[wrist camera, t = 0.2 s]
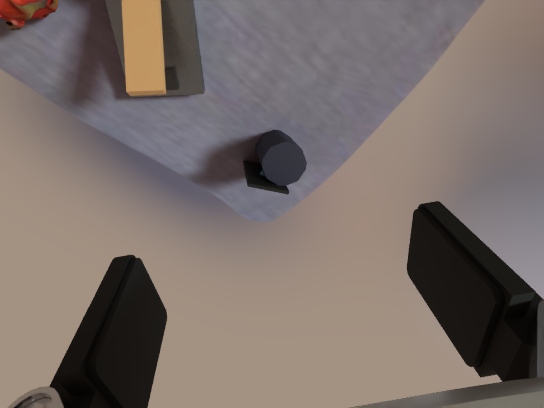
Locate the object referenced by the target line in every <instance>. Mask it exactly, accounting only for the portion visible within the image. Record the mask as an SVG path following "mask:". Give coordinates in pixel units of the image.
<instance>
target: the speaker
mask: <svg viewBox="0 0 544 408" xmlns="http://www.w3.org/2000/svg"><path fill="white" fill-rule="evenodd" d="M256 153H257V155H258V158H259V160H260V163H261V164H258V163H254V162H249V161H245V160H244V161H243V164H244V170H245V175H246V180H247V185H248V186H249V187H254V188H259V189H264V190H269V191H274V192H279V193H284V194H289V190H288V188H287V186H286V185H288V184H291V183H293V182H296V181H298V180H299V178H300V177H301V175H302V174H303V173H304V171H305V170H306V164H307V162H306V159H305V156H304V154H303V151H302V149H301V148H300V147H299V146H298V145H297V144H296V143H295V142H294V141H293V140H292V139H291V138H290V137H289V136H288V135H286V134H284V133H283V132H281V131H279V130H273V131H270V132H268V133H265V134H263V135H262V136H261V138H260V140H259V141H258V143H257V144H256Z"/></svg>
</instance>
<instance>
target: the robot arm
mask: <svg viewBox="0 0 544 408" xmlns="http://www.w3.org/2000/svg"><path fill="white" fill-rule="evenodd" d="M407 272H408V275H409V277H410V279H411V280H412V282H413V283H414V285H415V286H416V288H417V290H418V291H419V293H420V294H421V295H422V297H423V299H424V300H425V302H426V303H427V305H428V306H429V308H430V310H431V311H432V312H433V314H434V316H435V317H436V319H437V320H438V322H439V323H440V325H441V326H442V328H443V329H444V331H445V333H446V334H447V336H448V337H449V339H450V340H451V342H452V343H453V345H454V346H455V348H456V349H457V351H458V352H459V354H460V355H461V357H462V359H463V360H464V362H465V363H466V364H467V365H468V366H470V367H474V369H475V370H476V372H477V373H478V375H479V376H480V377H485V376H491V375H496V374H497V375H498V376H499V377H500V379H501V380H502V382H499V383H493V384H487V385H479V386H473V387H467V388H460V389H454V390H448V391H442V392H436V393H431V394H426V395H419V396H414V397H409V398H402V399H396V400H391V401H385V402H379V403H373V404H368V405H362V406H356V407H351V408H544V299H542V298H541V297H540V296H539V295H538V294H537V293H536V291H534V290H533V289H532V288H531V287H530V286H529V285H528V284H527V283H526V282H525V281H524V280H523V279H522V278H520V276H518V275H517V274H516V273H515V272H514V271H513V270H512V269H511V268H510V267H509V266H508V265H507V264H506V263H505V262H503V261H502V260H501V259H500V258H499V257H498V256H497V255H496V254H495V253H494V252H493V251H492V250H491V249H490V248H489V247H487V246H486V245H485V244H484V243H483V242H482V241H481V240H480V239H479V238H478V237H477V236H476V235H475V234H473V233H472V232H471V231H470V230H469V229H468V228H467V227H466V226H465V225H464V224H463V223H462V222H461V221H460V220H459V219H458V218H456V217H455V216H454V215H453V214H452V213H451V212H450V211H449V210H448V209H447V208H446V207H445V206H444V205H443V204H441V203H440V202H438V201H436V202H431V203H425V204H420V205H419V207H418V209H416V210H415V211H414V213H413V221H412V229H411V238H410V245H409V253H408V262H407ZM166 321H167V312H166V309H165V307H164V305H163V303H162V301H161V299H160V297H159V295H158V293H157V291H156V289H155V287H154V284H153V283H152V281H151V279H150V276H149V274H148V273H147V270H146V268H145V266H144V264H143V262H142V261H141V259H140V258H136V257H135V256H134V255H127V256H121V257H116V258H114V259H113V260H112V262H111V264H110V266H109V268H108V270H107V272H106V274H105V276H104V278H103V280H102V282H101V284H100V286H99V288H98V290H97V292H96V294H95V297H94V298H93V300H92V302H91V304H90V306H89V308H88V310H87V312H86V314H85V316H84V318H83V320H82V322H81V324H80V326H79V328H78V330H77V332H76V334H75V336H74V338H73V340H72V342H71V344H70V346H69V348H68V350H67V352H66V354H65V356H64V358H63V360H62V362H61V364H60V366H59V368H58V370H57V372H56V374H55V376H54V378H53V380H52V382H51V384H50V386H49V387H40V388H36V389H34V390H31V391H29V392H27V393H26V394H24V395H22V396H21V397H19V398H18V399H17V400H16V401H14V402H13V403H12V404H11V405H10V406H9V407H8V408H147V407H148V402H149V398H150V393H151V389H152V384H153V380H154V375H155V371H156V366H157V362H158V357H159V353H160V348H161V344H162V340H163V335H164V331H165V326H166Z"/></svg>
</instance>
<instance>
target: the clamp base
mask: <svg viewBox="0 0 544 408" xmlns="http://www.w3.org/2000/svg"><path fill="white" fill-rule="evenodd" d="M105 3H106V6H107V10H108V14H109V18H110V22H111V26H112V30H113V34H114V38H115V41H116V45H117V49H118V53H119V57H120V61H121V65H122V69H123V73H124V76H125V80H126V75H125V56H124V37H123V19H122V0H105ZM161 17H162V34H163V51H164V68H165V84H166V94H161V95H139V96H130V95H129V96H130V97H148V96H171V95H193V94H203V93H204V91H205V87H204V79H203V71H202V64H201V56H200V48H199V41H198V33H197V26H196V18H195V10H194V3H193V0H161Z"/></svg>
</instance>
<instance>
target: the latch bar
mask: <svg viewBox="0 0 544 408" xmlns="http://www.w3.org/2000/svg"><path fill="white" fill-rule="evenodd" d="M122 19H123V37H124V56H125V75H126V92H127V93H128V94H129V95H130V96H139V95H161V94H166V84H165V68H164V51H163V34H162V17H161V0H122Z"/></svg>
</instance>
